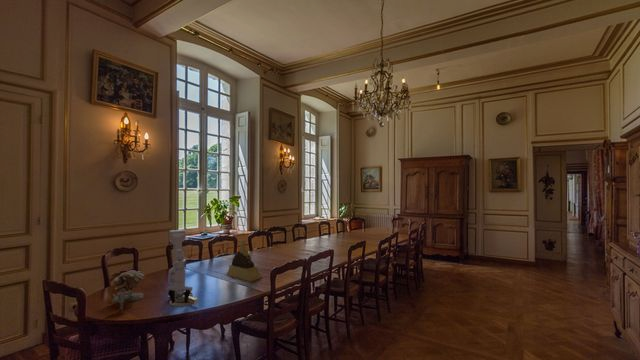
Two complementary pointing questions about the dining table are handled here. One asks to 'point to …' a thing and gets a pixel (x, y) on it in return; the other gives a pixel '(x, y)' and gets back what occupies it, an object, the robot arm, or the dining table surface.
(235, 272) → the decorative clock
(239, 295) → the dining table surface
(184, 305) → the flange plate
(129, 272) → the cherub figurine
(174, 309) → the dining table surface
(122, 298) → the mechanical component
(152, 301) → the dining table surface
